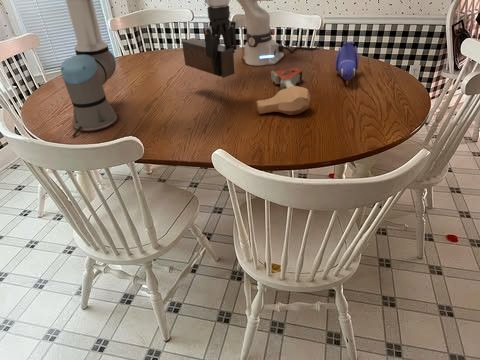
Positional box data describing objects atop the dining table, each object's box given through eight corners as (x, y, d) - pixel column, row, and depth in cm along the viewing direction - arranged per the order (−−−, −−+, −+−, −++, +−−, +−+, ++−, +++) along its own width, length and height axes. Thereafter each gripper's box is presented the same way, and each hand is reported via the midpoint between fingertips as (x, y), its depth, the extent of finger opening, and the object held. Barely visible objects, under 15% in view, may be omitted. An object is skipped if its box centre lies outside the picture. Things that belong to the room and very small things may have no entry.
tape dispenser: (295, 102, 142) (315, 82, 154) (296, 90, 138) (316, 70, 151) (257, 92, 149) (279, 74, 162) (257, 81, 146) (279, 63, 158)
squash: (314, 116, 128) (313, 95, 122) (259, 125, 130) (256, 105, 124) (308, 99, 136) (307, 78, 129) (257, 108, 138) (253, 88, 131)
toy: (333, 78, 167) (335, 88, 145) (335, 40, 160) (337, 44, 138) (355, 78, 165) (360, 87, 142) (358, 39, 158) (364, 43, 136)
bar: (234, 73, 134) (233, 47, 129) (223, 77, 131) (221, 51, 126) (195, 61, 149) (192, 37, 143) (185, 65, 146) (181, 41, 140)
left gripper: (230, 0, 128) (234, 64, 142) (189, 9, 118) (198, 77, 132) (245, 2, 124) (247, 68, 137) (204, 11, 114) (211, 82, 127)
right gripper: (227, -42, 143) (230, -4, 151) (187, -37, 131) (192, 4, 140) (238, -42, 139) (240, -3, 147) (198, -36, 128) (202, 6, 136)
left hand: (223, 72), depth 134 cm, fingers closed on bar, 6 cm apart
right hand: (216, 1), depth 143 cm, fingers open, 8 cm apart
